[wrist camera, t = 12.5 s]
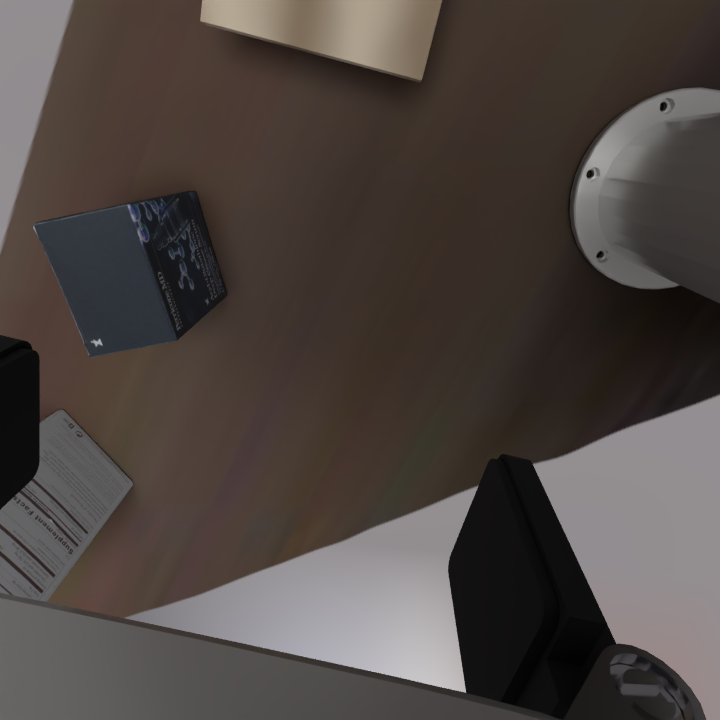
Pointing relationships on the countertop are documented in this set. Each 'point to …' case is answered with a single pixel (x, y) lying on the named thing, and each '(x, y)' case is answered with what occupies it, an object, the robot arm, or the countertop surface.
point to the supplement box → (57, 510)
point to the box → (134, 271)
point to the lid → (338, 29)
